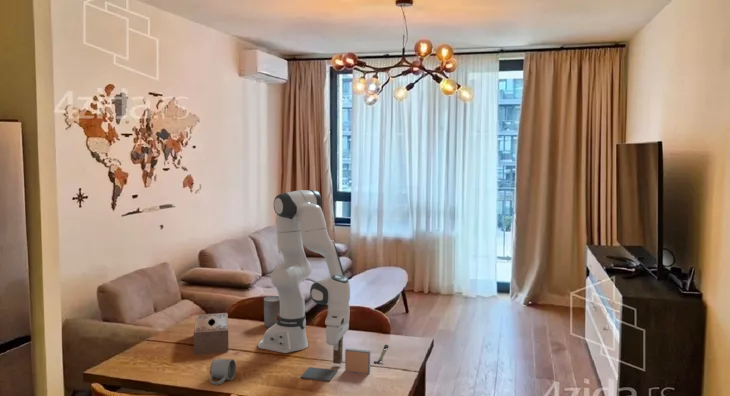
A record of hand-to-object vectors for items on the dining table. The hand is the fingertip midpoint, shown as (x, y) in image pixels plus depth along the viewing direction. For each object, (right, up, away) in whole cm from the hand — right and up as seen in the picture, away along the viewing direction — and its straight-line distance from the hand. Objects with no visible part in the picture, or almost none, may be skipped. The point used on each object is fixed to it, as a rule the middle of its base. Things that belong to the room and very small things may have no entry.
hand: (337, 347), depth 234 cm
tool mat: (-7, -9, -8) cm, 14 cm away
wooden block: (0, -6, +1) cm, 6 cm away
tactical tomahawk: (+20, -7, +13) cm, 25 cm away
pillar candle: (-35, -2, +52) cm, 63 cm away
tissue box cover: (-59, -5, +27) cm, 65 cm away
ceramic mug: (-44, -9, -13) cm, 47 cm away
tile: (+8, -8, -5) cm, 13 cm away
